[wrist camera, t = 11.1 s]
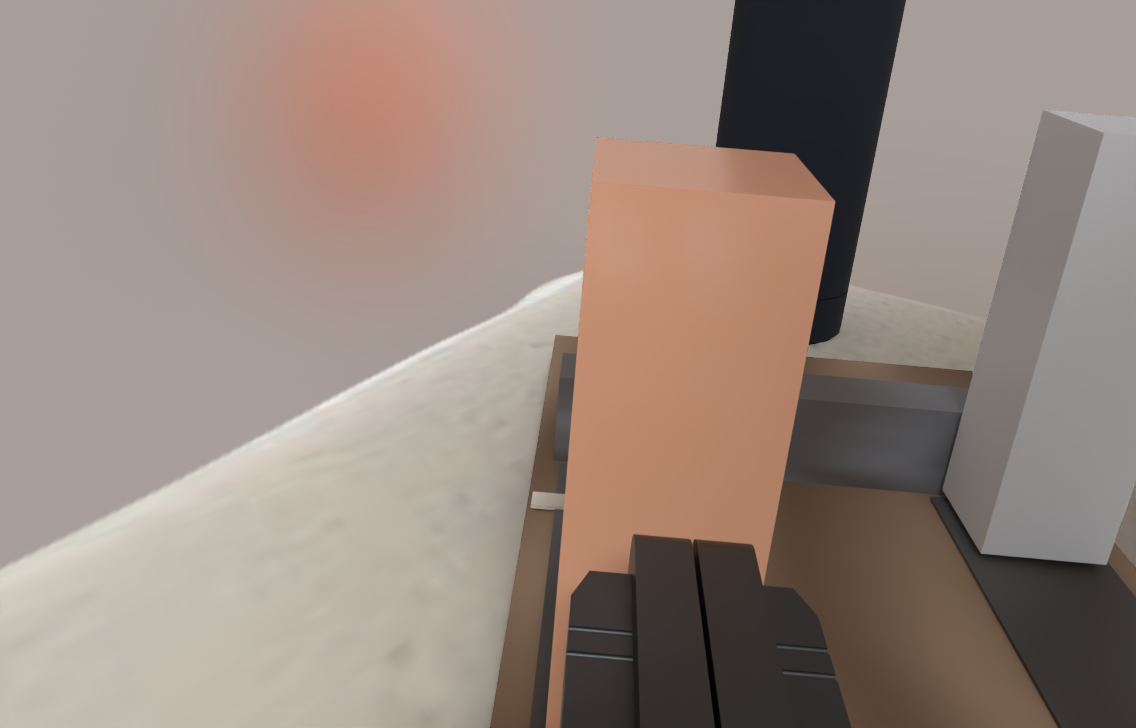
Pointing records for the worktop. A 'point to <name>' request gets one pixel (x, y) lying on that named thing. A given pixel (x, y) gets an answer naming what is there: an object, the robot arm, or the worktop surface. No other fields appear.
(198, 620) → the worktop surface
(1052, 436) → the grey plug
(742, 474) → the terracotta plug
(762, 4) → the black water bottle
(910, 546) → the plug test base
